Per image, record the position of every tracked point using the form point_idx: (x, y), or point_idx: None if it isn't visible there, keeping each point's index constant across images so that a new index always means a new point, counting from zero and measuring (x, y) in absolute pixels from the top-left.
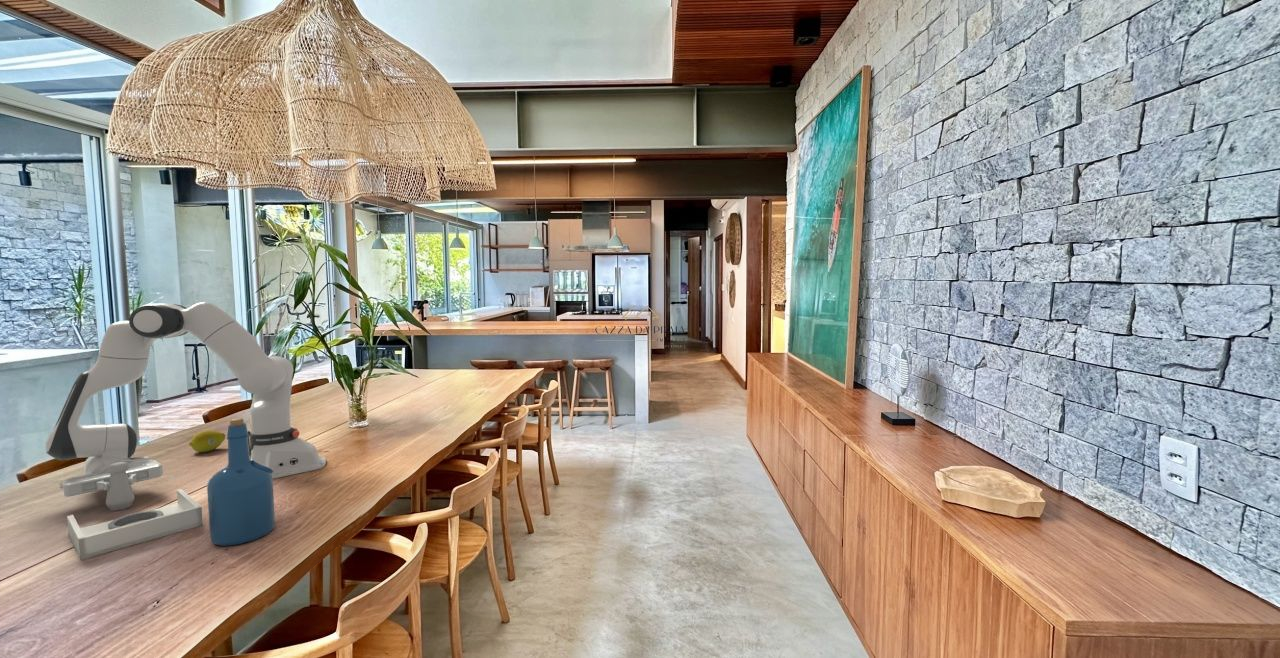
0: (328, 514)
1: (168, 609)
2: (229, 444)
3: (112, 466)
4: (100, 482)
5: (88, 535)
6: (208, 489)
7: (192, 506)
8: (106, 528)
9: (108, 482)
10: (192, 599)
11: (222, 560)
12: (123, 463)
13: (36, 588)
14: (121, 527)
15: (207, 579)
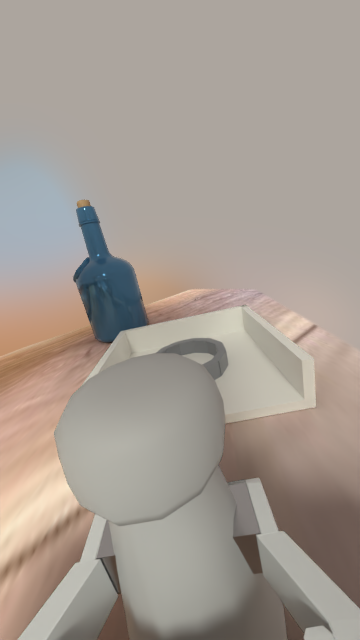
0: (62, 341)
1: (192, 297)
2: (100, 228)
3: (180, 355)
4: (317, 575)
5: (237, 308)
6: (133, 269)
7: (121, 342)
8: (233, 377)
9: (242, 520)
10: (182, 299)
11: (155, 315)
12: (106, 370)
13: (270, 310)
14: (205, 314)
15: (170, 306)
